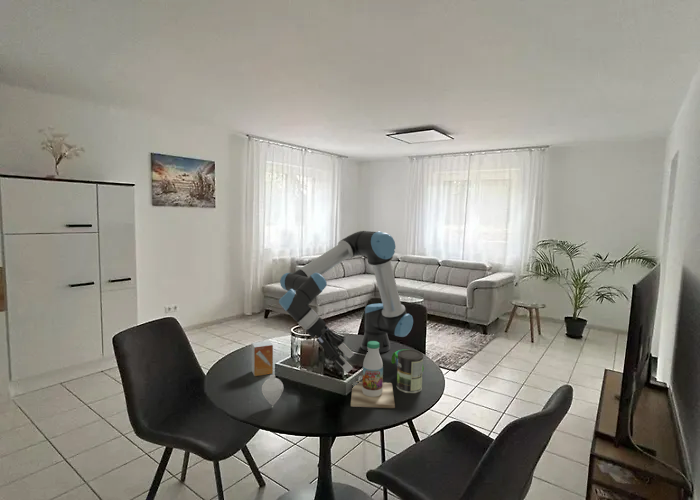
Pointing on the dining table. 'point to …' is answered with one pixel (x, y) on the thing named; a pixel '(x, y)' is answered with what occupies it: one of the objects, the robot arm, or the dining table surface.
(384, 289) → the robot arm
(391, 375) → the dining table surface
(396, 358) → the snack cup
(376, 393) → the milk bottle
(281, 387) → the spinning top
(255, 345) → the small box
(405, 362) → the coffee can
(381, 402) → the ash board
